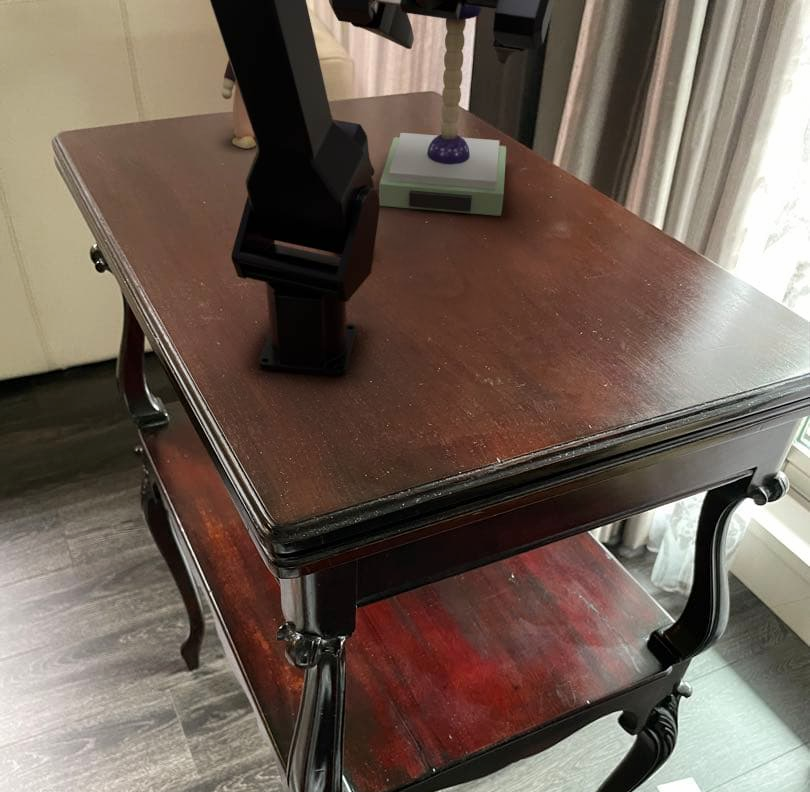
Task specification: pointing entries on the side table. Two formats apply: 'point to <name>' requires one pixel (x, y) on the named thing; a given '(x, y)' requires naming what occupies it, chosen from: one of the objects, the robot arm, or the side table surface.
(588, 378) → the side table surface
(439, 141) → the toy lamp
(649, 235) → the side table surface
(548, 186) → the side table surface
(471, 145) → the scale
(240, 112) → the grandmother figurine
